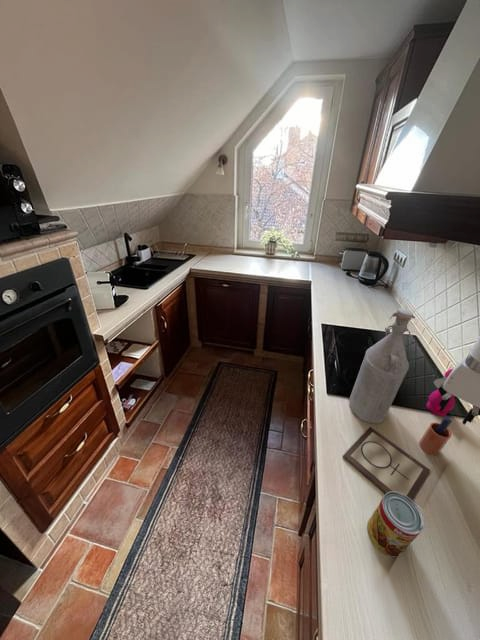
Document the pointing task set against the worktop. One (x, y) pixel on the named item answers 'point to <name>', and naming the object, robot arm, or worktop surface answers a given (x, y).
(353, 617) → the worktop surface
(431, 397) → the pepper mill
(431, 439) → the pen cup
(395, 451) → the framed female symbol sign
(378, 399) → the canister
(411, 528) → the canned food
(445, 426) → the marker
